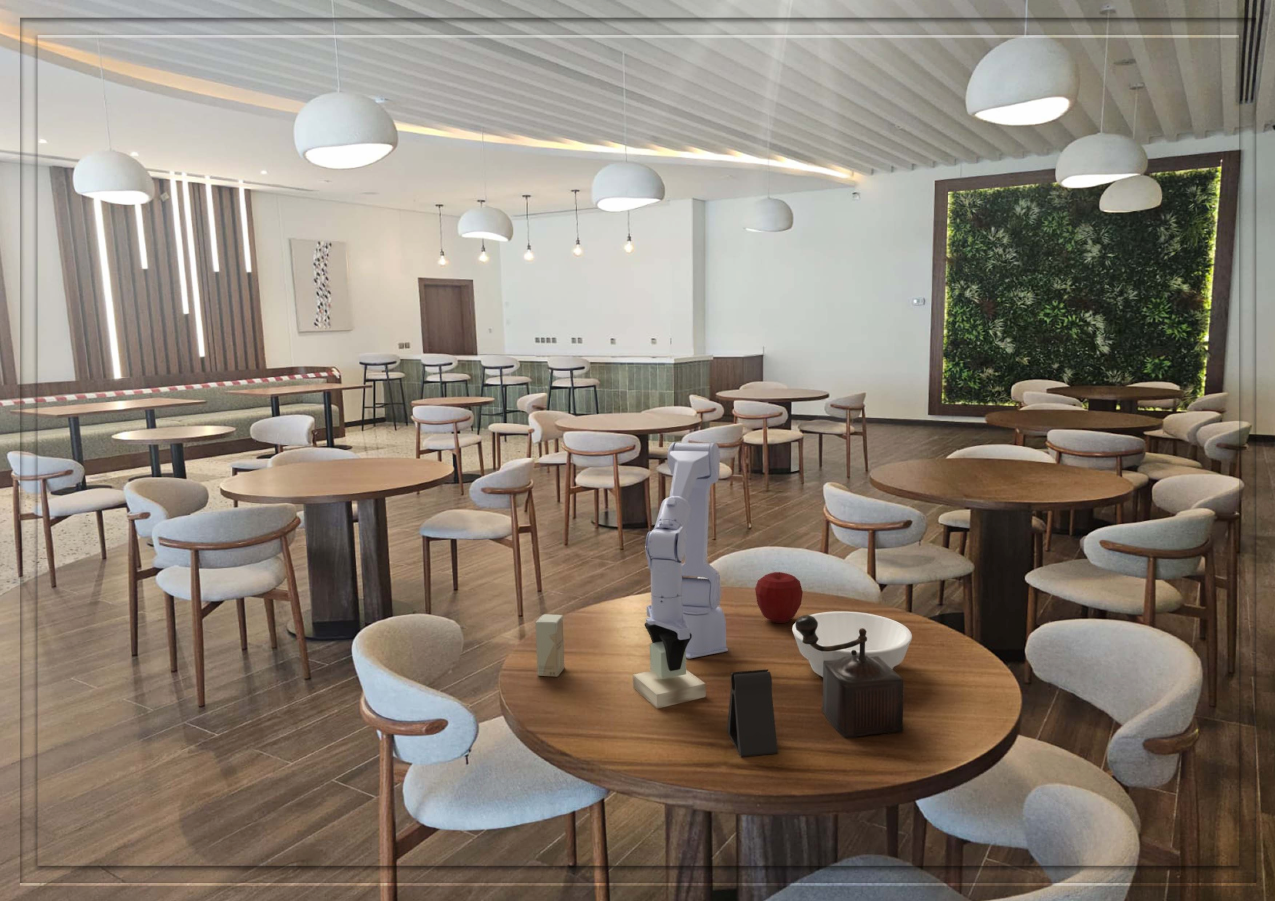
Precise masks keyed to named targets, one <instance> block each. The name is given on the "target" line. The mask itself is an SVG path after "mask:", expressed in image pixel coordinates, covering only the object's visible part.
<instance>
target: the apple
mask: <svg viewBox="0 0 1275 901" xmlns="http://www.w3.org/2000/svg"><path fill="white" fill-rule="evenodd" d="M756 582H757V583H756V585H755V588H754V589H755V590H754V592H755V597H756V603H757V606H758V609H759V610H760V612H761V615H762V616H763V617H764V618H766V619H767V620H769V621H771V623H775V624H785V623H787V622H789V621H790V620H791V619H793V618H794V617H795V616H796V615H797V613H798V610H799V609H800V607H801V605H802V600H803V595H804V594H803V593H804V592H803V588H802V584H801V581H800V580H799V579H798V578H797V577H796V576H794V575H792V574H790V573H787V572H781V571H773V572H769V573H767V574H765V575H764V576H762V577H760V579H757V581H756Z"/></svg>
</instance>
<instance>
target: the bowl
mask: <svg viewBox="0 0 1275 901" xmlns="http://www.w3.org/2000/svg"><path fill="white" fill-rule="evenodd" d="M809 615H810V616H813V617H814V618H815V619H816V621H817V622H818V627H817V629H816V632H815V633H816V635H817V637H818V641H817V644H818V645H820V646H834V645H840V644H844V643H848V642H851V641H854V640H856V639H858V637H859V636H860V634H859V630H860V629H861V628H864V629H865V630H866V631H867V632H866V637H867V641H866V642H865V655H866V656H868V657H874V656H878V657H879V658H880V659H881V660H882V661H883V662H885V663H886V664H887V665H888V666H889V667H890V668H891V669H892V670H893V669H894V667H896V666H898V665H899V664H901V663H902V662H903V661H904V658H905V656H906V654H907V651H908V649H909V647H910V645H911V644H910V643H911V642H912V639H913V636H912V632H911V630H910V629H909V628H908V627H907V626H906V625H904V624H902V623H900V622H898V621H896V620H894V619H891V618H889V617H886V616H885V617H884V616H880V615H877V614H873V613H866V612H859V611H826V612H825V611H824V612H818V613H813V614H809ZM795 625H796V621H795V623H794V624H793V625H792V627H791V628H792V629H791V630H792V633H793V636H794V638H795V642H796V645H797V648H798V650H799V653H800V654H801V656H802V657H803V658H805V659H807V660H808V662H809V664H810V667H811V669H812V671H813V672H814V673H816V674H817V675H818V676H820V677H822V678H823V661H824V660H836V659H841V658H843V657H847V656H852V654H851V651H852V650H855V651H856V652H857V655H859V652H860V644H858V645H856V646H854V647H850V648H846V649H841V650H837V651H828V652H827V651H819V650H816V649H815V648H813V647H812V646H811V645H810V644H804V643H803V642H802V641H803V636H802V634H801V633H800V632H799V631H797V630H796V626H795ZM893 671H894V670H893Z"/></svg>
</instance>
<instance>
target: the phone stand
mask: <svg viewBox="0 0 1275 901" xmlns="http://www.w3.org/2000/svg"><path fill="white" fill-rule="evenodd" d="M772 685H773V680H772V674H771V671H769V669H766V668H765V669H757V670H755V669H754V670H745V671H742V670H741V671H732V672H731V674H730V695H729V703H728V704H729V705H728V712H727V713H728V714H727V716H728V717H727V723H726V724H727V726H726V732H727V733H728V735H729V738H730V740H731V741H732V743H733V745H734V747H735V749H736V751H737V753H738V755H739V757H740V756H741V757H740V758H745V757H757V755H758V756H767V755H777V754H778V753H779V749H778V741H777V739H778V738H777V732H776V720H775V709H774V702H773V688H772Z"/></svg>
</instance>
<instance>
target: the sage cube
mask: <svg viewBox="0 0 1275 901" xmlns="http://www.w3.org/2000/svg"><path fill="white" fill-rule="evenodd" d="M649 658H650V659H649V660H650V661H649V662H650V663H649V664H650V665H649V668H650V671H653V672H654V673H655V674H656V675H657V676H658V677H660V678H661V679H665V678H670V677H675V676H680V675H685V674H686V670H687V658H686V649H685V652H684V656H683V660H682V664H681V668H680V669H679V670H674V671H670V670H669V668H668V664H667V658H666V652H665V648H664V645H663V642H656V643H652V642H651V643H649Z"/></svg>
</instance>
